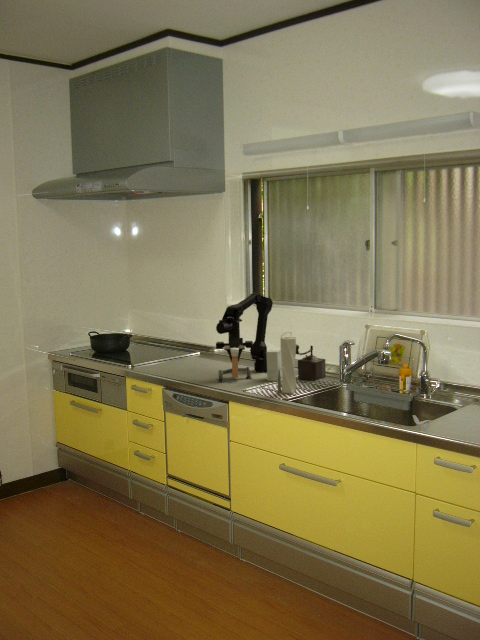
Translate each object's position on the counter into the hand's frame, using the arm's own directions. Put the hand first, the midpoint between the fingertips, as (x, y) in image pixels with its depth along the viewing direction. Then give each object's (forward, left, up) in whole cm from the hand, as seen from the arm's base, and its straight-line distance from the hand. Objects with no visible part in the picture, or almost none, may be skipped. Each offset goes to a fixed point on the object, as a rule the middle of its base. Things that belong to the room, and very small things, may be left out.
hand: (235, 361), depth 338 cm
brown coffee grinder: (-37, +4, -9) cm, 38 cm away
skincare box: (-20, +4, -9) cm, 22 cm away
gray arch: (0, +3, -9) cm, 9 cm away
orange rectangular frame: (0, 0, -7) cm, 7 cm away
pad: (+4, +3, -9) cm, 10 cm away
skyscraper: (-25, +30, -10) cm, 40 cm away
